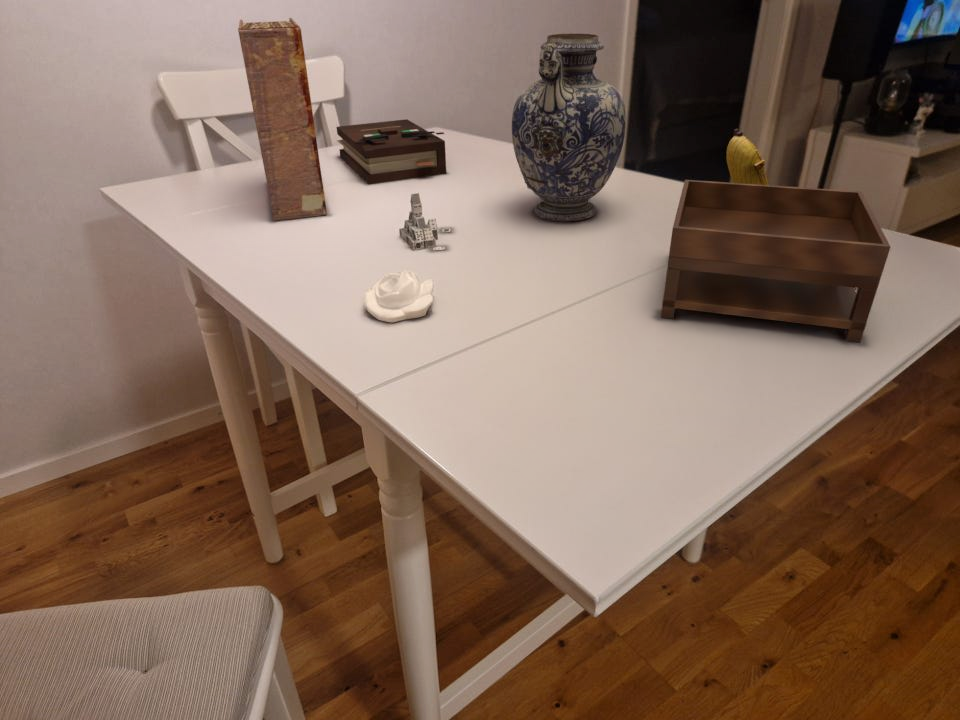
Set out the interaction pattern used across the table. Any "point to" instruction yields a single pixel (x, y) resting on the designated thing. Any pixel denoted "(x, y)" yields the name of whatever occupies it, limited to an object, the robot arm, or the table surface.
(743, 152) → the shrine
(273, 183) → the book
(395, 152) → the decorative book
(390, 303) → the rose
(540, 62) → the decorative vase
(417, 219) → the house of cards
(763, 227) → the brown wooden open box
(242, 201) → the table surface
